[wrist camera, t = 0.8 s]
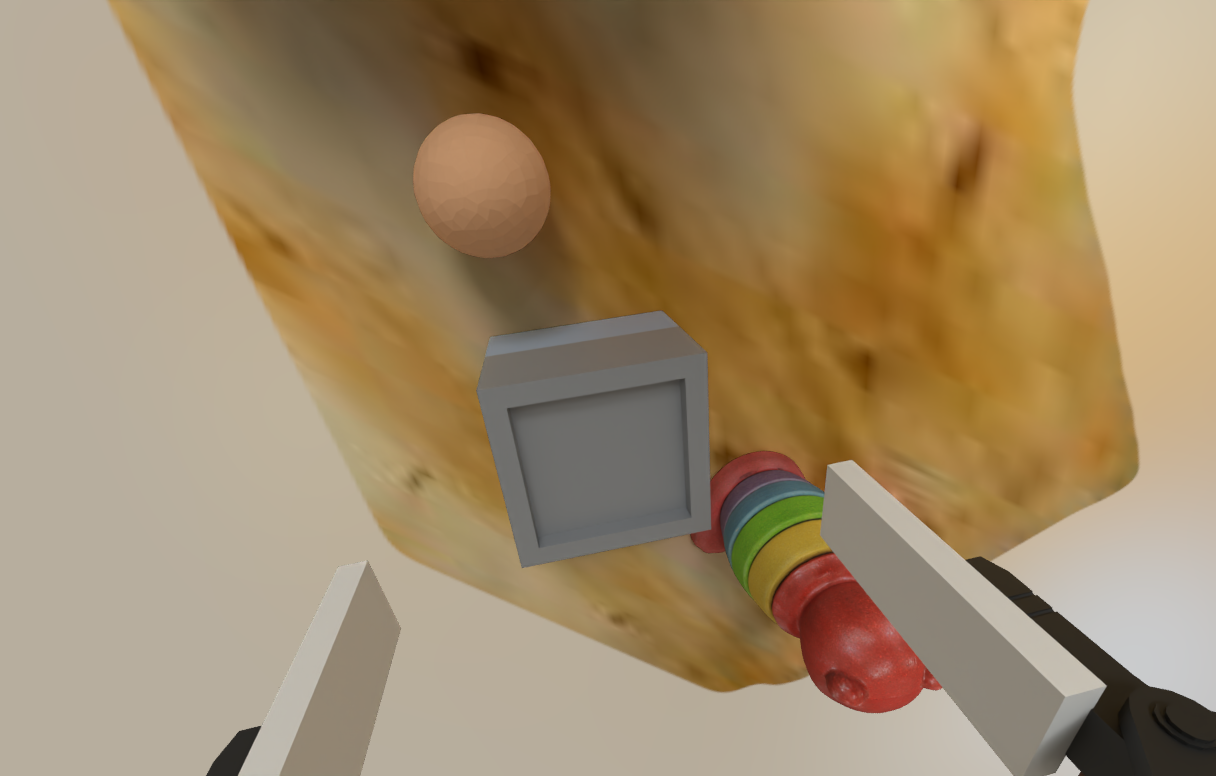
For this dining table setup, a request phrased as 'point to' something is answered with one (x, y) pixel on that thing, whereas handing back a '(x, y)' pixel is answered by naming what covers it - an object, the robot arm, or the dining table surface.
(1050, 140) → the dining table surface
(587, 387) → the grey square tray
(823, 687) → the stacking bear
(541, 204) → the egg
